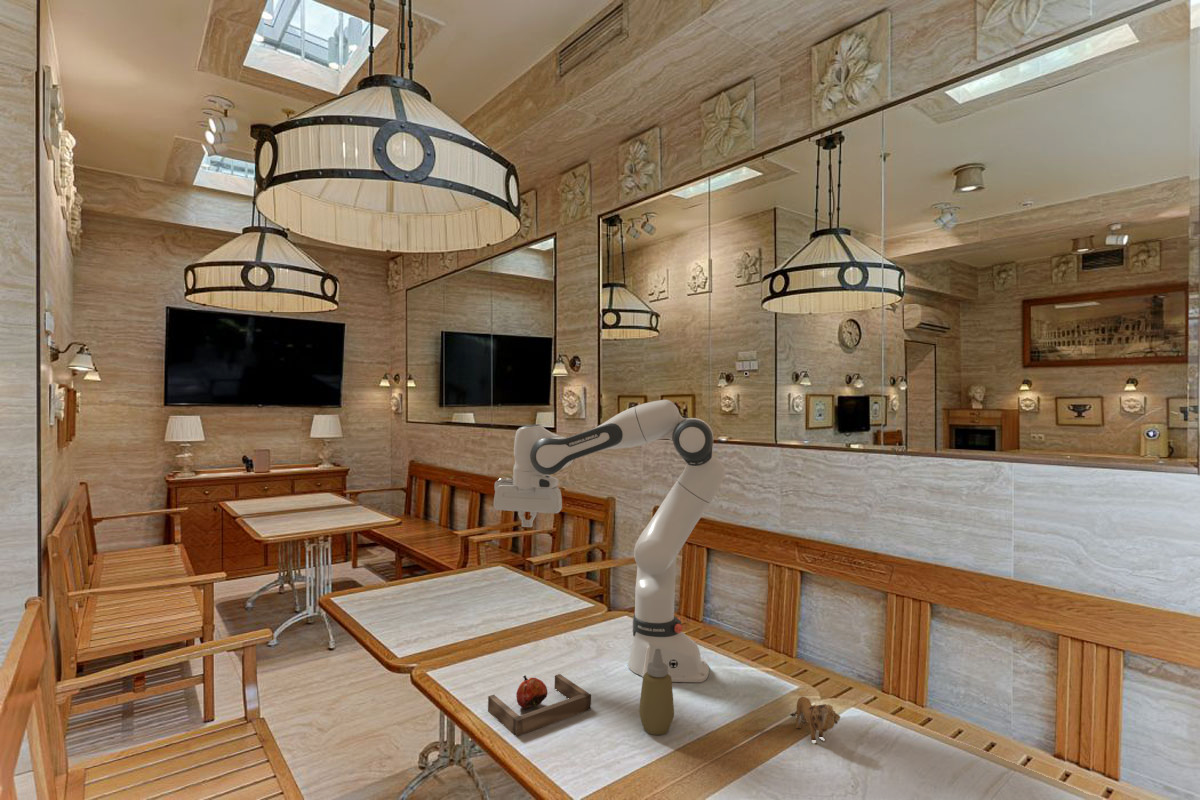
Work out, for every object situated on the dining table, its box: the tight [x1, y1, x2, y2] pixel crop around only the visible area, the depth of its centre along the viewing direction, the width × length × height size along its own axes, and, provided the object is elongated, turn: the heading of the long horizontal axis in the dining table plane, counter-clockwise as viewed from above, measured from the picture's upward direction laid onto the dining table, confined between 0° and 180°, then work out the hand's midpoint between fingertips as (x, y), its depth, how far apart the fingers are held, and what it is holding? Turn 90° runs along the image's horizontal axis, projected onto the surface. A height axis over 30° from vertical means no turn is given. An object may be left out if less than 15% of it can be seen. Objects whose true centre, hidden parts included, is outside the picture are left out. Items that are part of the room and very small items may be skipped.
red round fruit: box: [515, 675, 548, 710], centre depth 145 cm, size 7×7×10 cm
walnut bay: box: [487, 673, 592, 737], centre depth 144 cm, size 14×20×4 cm, turn 128°
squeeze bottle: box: [638, 649, 675, 736], centre depth 137 cm, size 8×8×18 cm
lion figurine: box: [789, 696, 841, 741], centre depth 137 cm, size 15×5×9 cm, turn 20°
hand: (527, 526), depth 177 cm, fingers closed
